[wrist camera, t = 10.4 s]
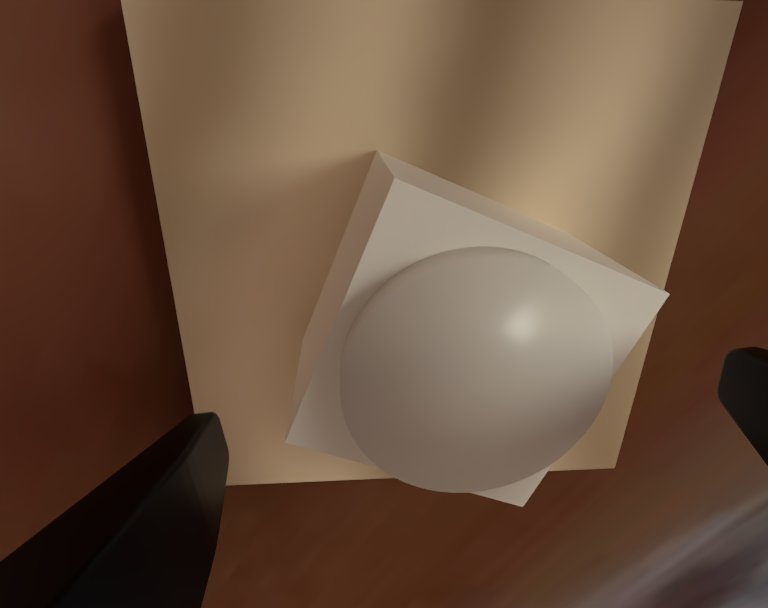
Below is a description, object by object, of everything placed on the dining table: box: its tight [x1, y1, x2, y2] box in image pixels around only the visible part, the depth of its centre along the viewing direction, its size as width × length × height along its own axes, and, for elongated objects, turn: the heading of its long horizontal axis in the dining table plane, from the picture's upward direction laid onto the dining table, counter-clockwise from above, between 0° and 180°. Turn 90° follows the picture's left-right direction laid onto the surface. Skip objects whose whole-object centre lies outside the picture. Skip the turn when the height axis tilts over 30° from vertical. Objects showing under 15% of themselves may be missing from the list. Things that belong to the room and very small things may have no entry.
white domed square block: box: [285, 150, 670, 507], centre depth 11 cm, size 6×6×5 cm
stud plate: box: [121, 0, 743, 485], centre depth 12 cm, size 14×14×4 cm
